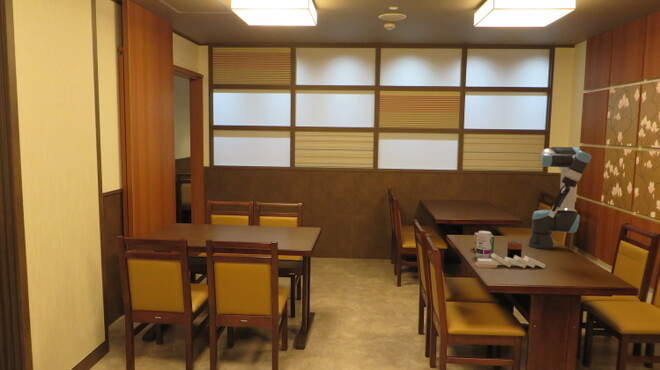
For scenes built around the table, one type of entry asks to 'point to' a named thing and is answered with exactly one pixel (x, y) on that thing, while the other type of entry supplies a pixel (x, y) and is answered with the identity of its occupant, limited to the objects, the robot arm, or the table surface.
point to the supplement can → (484, 244)
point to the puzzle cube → (476, 242)
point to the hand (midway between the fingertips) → (550, 216)
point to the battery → (514, 249)
